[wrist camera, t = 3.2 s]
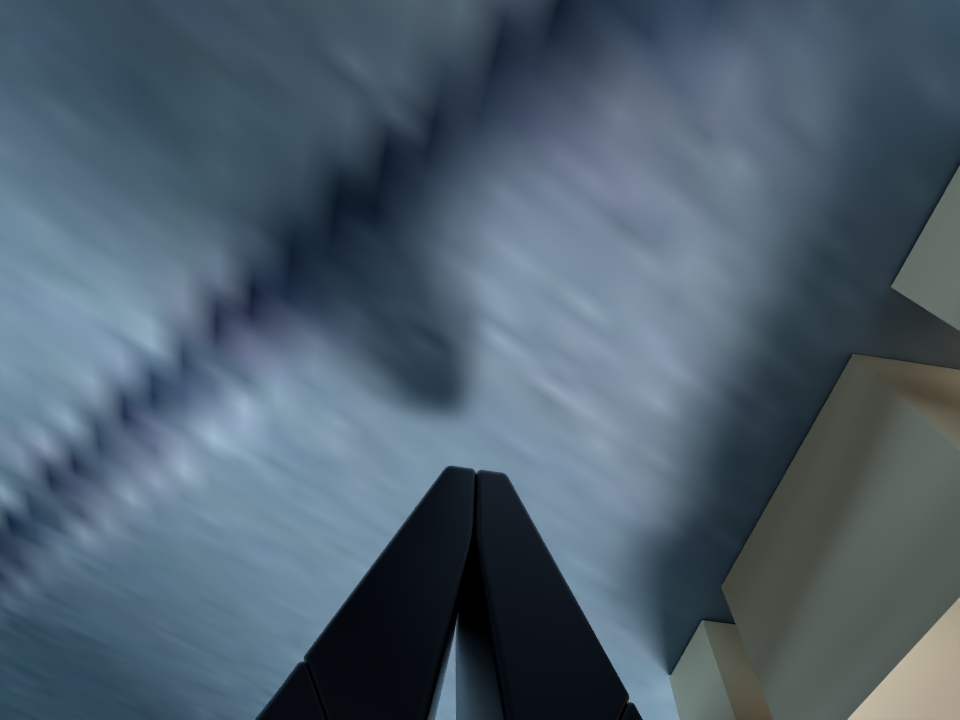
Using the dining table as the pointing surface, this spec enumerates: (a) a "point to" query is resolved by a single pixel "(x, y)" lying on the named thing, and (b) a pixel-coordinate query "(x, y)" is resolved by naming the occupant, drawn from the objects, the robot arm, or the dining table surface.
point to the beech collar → (854, 545)
